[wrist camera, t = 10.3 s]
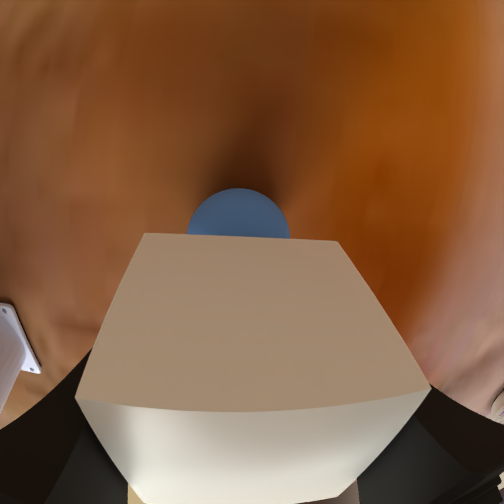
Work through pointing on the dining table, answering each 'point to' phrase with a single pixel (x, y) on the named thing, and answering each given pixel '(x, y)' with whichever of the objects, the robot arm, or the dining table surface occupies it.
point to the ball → (239, 216)
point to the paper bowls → (498, 409)
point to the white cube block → (245, 372)
